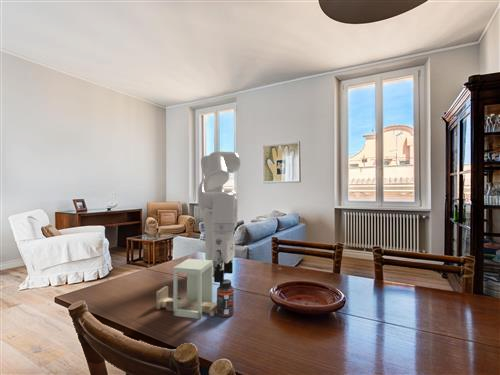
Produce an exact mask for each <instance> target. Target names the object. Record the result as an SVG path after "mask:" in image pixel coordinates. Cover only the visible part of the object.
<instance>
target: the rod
mask: <svg viewBox="0 0 500 375" xmlns="http://www.w3.org/2000/svg"><path fill="white" fill-rule="evenodd" d="M155 293H156V298H155V301H156V303H155V304H156V305H155V306H156V310H160V309H161V308H162V309H163V308H165V309H166V302H167V301H173V297H169V286H167V285H165V286H163V287H162V288H160V289H159V290H157V291H156V292H155ZM178 309H184V310H193V311H198V301H191V300H187V299H182V298H181V299H178ZM202 313H207V314H209V317H214V316H215V314H217V300H216V301H215V302H213V303H209V302H202Z"/></svg>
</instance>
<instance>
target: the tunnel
mask: <svg viewBox="0 0 500 375" xmlns="http://www.w3.org/2000/svg"><path fill="white" fill-rule="evenodd" d="M172 272H173V274H172V276H173V281H172V282H173V286H172V287H173V296H172V299H173V311H172V312H173V316H174V317H182V318H190V319H197V320H198V319H199V320H202V318H203V312H202V302H209V303H214V300H213V299H214V283H213V282H214V275H213V260H205V259H200V258H199V259H198V258H197V259H194V258H187V259H185V260H184V261H182V262H180V263H178V264H177V265H175V266H173V271H172ZM178 273H184V274H186V300H191V301H198V311H193V310H184V309H178V296H179V295H178V285H179V284H178V281H179V280H178V279H179V278H178Z"/></svg>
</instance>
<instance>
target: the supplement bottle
mask: <svg viewBox="0 0 500 375" xmlns="http://www.w3.org/2000/svg"><path fill="white" fill-rule="evenodd" d="M216 301H217V312H216V314H217V315H218V316H219V317H220V318H221V317H222V318H229V317H231V316H232V315H234V313H235V312H234V311H235V308H234V307H235V289H234V286H232V280H231V279H225V278H224V282H223V283H219V286H218V287H217V288H216Z"/></svg>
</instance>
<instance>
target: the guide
mask: <svg viewBox="0 0 500 375" xmlns="http://www.w3.org/2000/svg"><path fill="white" fill-rule="evenodd" d="M178 299H181V300H182V296H179V295H178ZM165 311H169V312H173V301H167V302H166V308H165Z"/></svg>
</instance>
